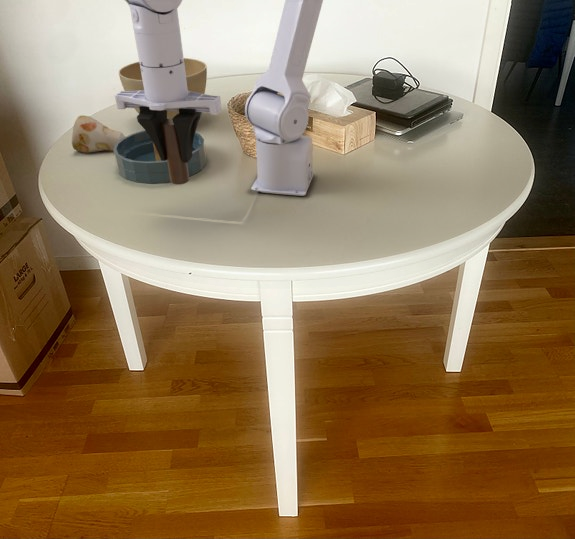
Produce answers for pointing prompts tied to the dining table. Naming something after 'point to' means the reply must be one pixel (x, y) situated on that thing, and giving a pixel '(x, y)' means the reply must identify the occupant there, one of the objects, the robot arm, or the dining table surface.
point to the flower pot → (194, 78)
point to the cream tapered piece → (93, 136)
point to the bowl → (151, 159)
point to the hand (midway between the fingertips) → (176, 158)
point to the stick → (174, 153)
